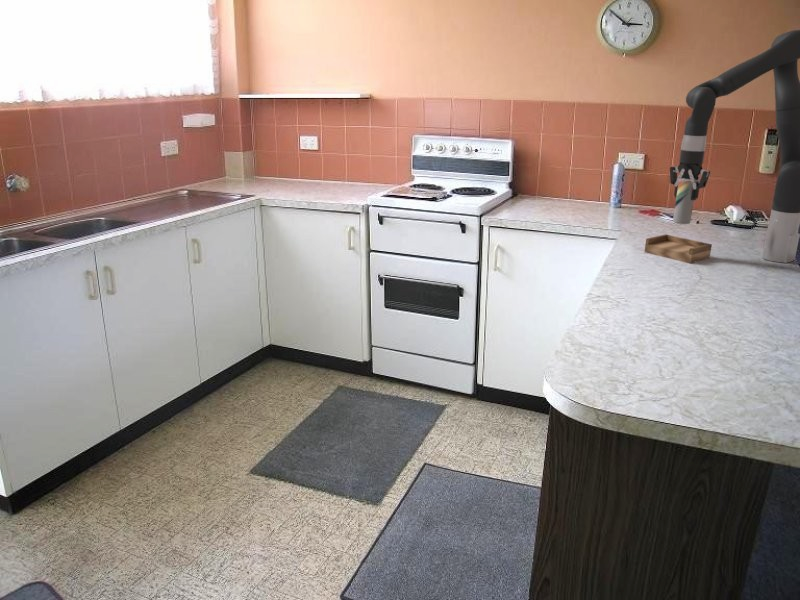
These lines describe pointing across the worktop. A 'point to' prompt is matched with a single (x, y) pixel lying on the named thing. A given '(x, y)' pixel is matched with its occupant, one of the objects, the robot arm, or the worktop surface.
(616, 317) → the worktop surface
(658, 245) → the wooden serving tray
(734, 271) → the worktop surface
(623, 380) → the worktop surface
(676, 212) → the lotion bottle
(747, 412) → the worktop surface
